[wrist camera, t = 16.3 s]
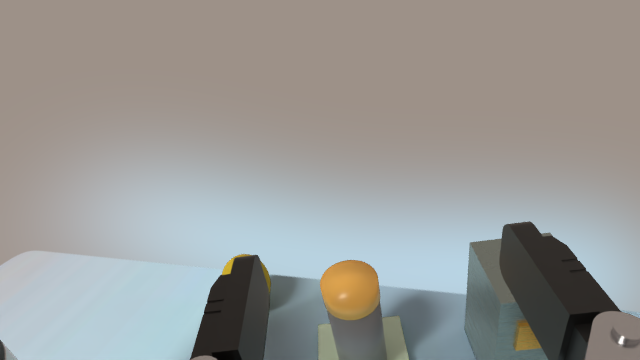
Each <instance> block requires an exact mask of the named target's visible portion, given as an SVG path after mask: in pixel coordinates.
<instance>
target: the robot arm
mask: <svg viewBox="0 0 640 360" xmlns="http://www.w3.org/2000/svg"><path fill="white" fill-rule="evenodd" d="M499 264H500V270H501V274H502V277H503V279H504V281H505V283H506V284H507V286H508V288H509V290H510V292H511V293H512V295H513V297H514V299H515V301H516V302H517V304H518V306H519V308H520V310H521V311H522V313H523V315H524V317H525V319H526V320H527V322H528V324H529V326H530V328H531V329H532V331H533V333H534V335H535V337H536V338H537V340H538V342H539V344H540V346H541V347H542V349H543V351H544V353H545V355H546V356H547V358H548V360H640V319H639V318H637V317H635V316H633V315H630V314H627V313H623V312H621V311H620V310H619V309H618V307H617V306H616V305H615V304H614V302H613V301H612V300H611V299H610V298H609V297H608V295H607V294H606V293H605V291H604V290H603V289H602V288H601V287H600V285H599V284H598V283H597V282H596V280H595V279H594V278H593V277H592V276H591V274H590V273H589V272H587V271H586V268H585V267H584V266H583V265H582V263H581V262H580V261H578V260H577V257H576V256H575V255H574V254H573V252H572V251H571V250H570V249H569V248H568V246H567V245H565V244H564V243H562V242H560V241H559V240H557V239H556V238H554V237H553V236H542V235H541V233H540V232H539V231H538V229H537V228H536V227H535V225H534V224H533V223H531V222H522V223H514V224H506V225H505V226H504V227H503V232H502V241H501V250H500V258H499ZM269 306H270V296H269V289H268V285H267V282H266V278H265V275H264V272H263V269H262V265H261V262H260V259H259V257H258V255H252V256H244V257H236V258H235V259H234V261H233V265H232V269H231V273H230V274H226V275H220V277H219V278H218V279H217V281H216V282H215V283H214V284H213V286H212V287H211V290H210V293H209V297H208V300H207V304H206V307H205V310H204V315H203V317H202V321H201V324H200V328H199V331H198V335H197V338H196V342H195V345H194V348H193V352H192V355H191V358H190V360H263V358H264V349H265V341H266V332H267V324H268V315H269ZM0 360H18V359H17V358H16V357H15V356H14V355H13V354H12V353H11V351H10V350H9V349H8V348H7V347H6V346H5V345H4V344H3V342H1V340H0Z"/></svg>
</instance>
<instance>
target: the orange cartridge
mask: <svg viewBox="0 0 640 360" xmlns="http://www.w3.org/2000/svg"><path fill="white" fill-rule="evenodd" d="M320 287H321V292H322V296H323V300H324V304H325V307H326V309H327V312H328V316H329V320H330V324H331V328H332V333H333V337H334V341H335V345H336V349H337V354H338V358H339V360H387V352H386V345H385V337H384V330H383V322H382V314H381V307H380V290H379V282H378V276H377V273H376V271H375V270H374V269H373V268H372V267H371V266H370V265H368V264H367V263H365V262H362V261H356V260H347V261H342V262H339V263H336V264H334V265H332V266H331V267H330V268H328V269H327V270H326V271H325V273H324V274H323V276H322V278H321V281H320Z"/></svg>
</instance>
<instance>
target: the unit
mask: <svg viewBox="0 0 640 360" xmlns="http://www.w3.org/2000/svg"><path fill="white" fill-rule="evenodd" d="M541 235H542V236H552V235H551V234H550V233H544V234H541ZM501 241H502V239H495V240H487V241H480V242H471V243H470V249H469V250H470V251H469V266H468V282H467V299H466V315H465V331H466V334H467V337H468V339H469V342H470V344H471V347H472V350H473V352H474V355H475V357H476V360H548V358H547V356H546V355H545V353H544V351H543V349H542V347H541V346H540V344H539V342H538V340H537V338H536V337H535V335H534V333H533V331H532V329H531V328H530V326H529V324H528V322H527V320H526V319H525V317H524V315H523V313H522V311H521V310H520V308H519V306H518V304H517V302H516V301H515V299H514V297H513V295H512V293H511V292H510V290H509V288H508V286H507V284H506V283H505V281H504V279H503V277H502V274H501V270H500V264H499V258H500V250H501Z"/></svg>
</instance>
